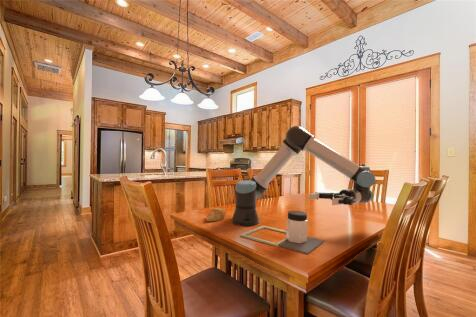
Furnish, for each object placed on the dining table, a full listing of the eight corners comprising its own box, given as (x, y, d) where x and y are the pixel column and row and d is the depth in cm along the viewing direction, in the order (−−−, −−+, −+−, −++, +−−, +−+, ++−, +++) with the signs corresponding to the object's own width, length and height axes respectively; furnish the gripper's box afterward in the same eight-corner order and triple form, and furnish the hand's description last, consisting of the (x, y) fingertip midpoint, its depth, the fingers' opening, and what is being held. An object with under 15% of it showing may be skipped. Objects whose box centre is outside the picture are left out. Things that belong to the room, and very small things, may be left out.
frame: (240, 236, 106) (240, 234, 106) (263, 227, 122) (263, 225, 122) (277, 246, 94) (277, 244, 94) (297, 234, 109) (297, 233, 109)
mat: (279, 246, 94) (279, 245, 94) (298, 235, 108) (298, 234, 108) (308, 254, 87) (308, 253, 87) (324, 241, 101) (324, 240, 101)
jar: (295, 244, 95) (297, 216, 95) (282, 238, 102) (283, 211, 101) (310, 241, 100) (311, 213, 99) (296, 235, 106) (297, 209, 106)
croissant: (211, 229, 128) (217, 217, 126) (198, 219, 131) (203, 207, 130) (227, 219, 147) (233, 209, 146) (215, 211, 151) (220, 201, 149)
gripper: (373, 209, 105) (344, 213, 95) (328, 199, 127) (300, 202, 117) (374, 193, 105) (344, 195, 95) (329, 186, 127) (301, 187, 117)
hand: (320, 199), depth 106 cm, fingers open, 13 cm apart
